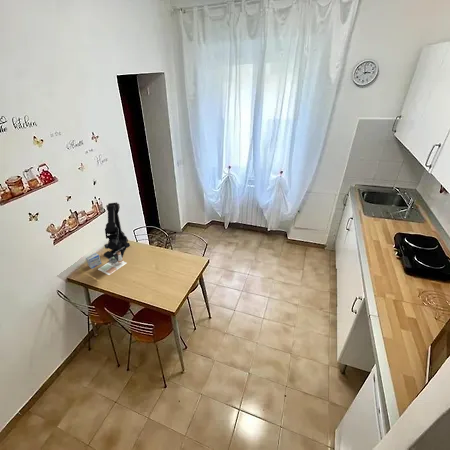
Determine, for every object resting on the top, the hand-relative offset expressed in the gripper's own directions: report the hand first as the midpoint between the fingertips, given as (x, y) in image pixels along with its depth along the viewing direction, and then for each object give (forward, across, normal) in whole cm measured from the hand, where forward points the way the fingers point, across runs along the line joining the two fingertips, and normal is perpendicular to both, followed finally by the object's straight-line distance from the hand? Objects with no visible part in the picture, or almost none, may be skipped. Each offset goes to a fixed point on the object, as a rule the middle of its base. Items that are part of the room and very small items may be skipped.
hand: (119, 259), depth 187 cm
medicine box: (+5, +11, -15) cm, 19 cm away
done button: (+2, 0, -7) cm, 7 cm away
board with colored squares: (+5, +5, -3) cm, 8 cm away
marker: (+2, 0, 0) cm, 2 cm away
